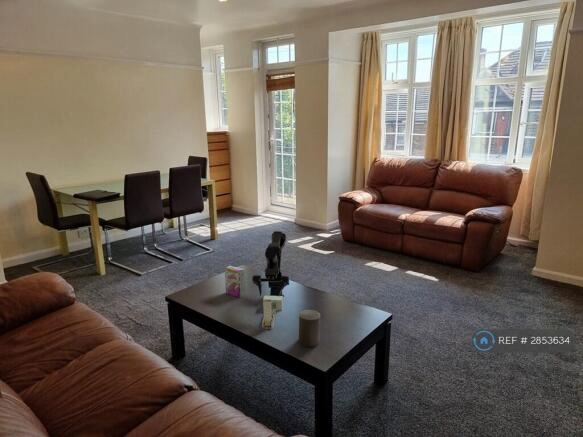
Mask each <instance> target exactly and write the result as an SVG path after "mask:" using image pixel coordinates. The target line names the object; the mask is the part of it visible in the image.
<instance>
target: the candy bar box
mask: <svg viewBox="0 0 583 437" xmlns="http://www.w3.org/2000/svg"><path fill="white" fill-rule="evenodd" d="M245 271H246V270H245V269H244V268H241V267H237V266H233V265H228V266H226V267H224V278H225V294H226V295H230V296H232V297H233V296H234V297H236V298H243V297H244V296H246V277H245V274H246V272H245Z"/></svg>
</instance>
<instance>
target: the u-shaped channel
mask: <svg viewBox="0 0 583 437" xmlns="http://www.w3.org/2000/svg"><path fill="white" fill-rule="evenodd" d="M276 317H277V310H274V314H273V318H272V322H271V326H265V325H264V317H263V319H262V321H261V329H268V330H269V329H270V330H273V329H274V324H275V320H276Z"/></svg>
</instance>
